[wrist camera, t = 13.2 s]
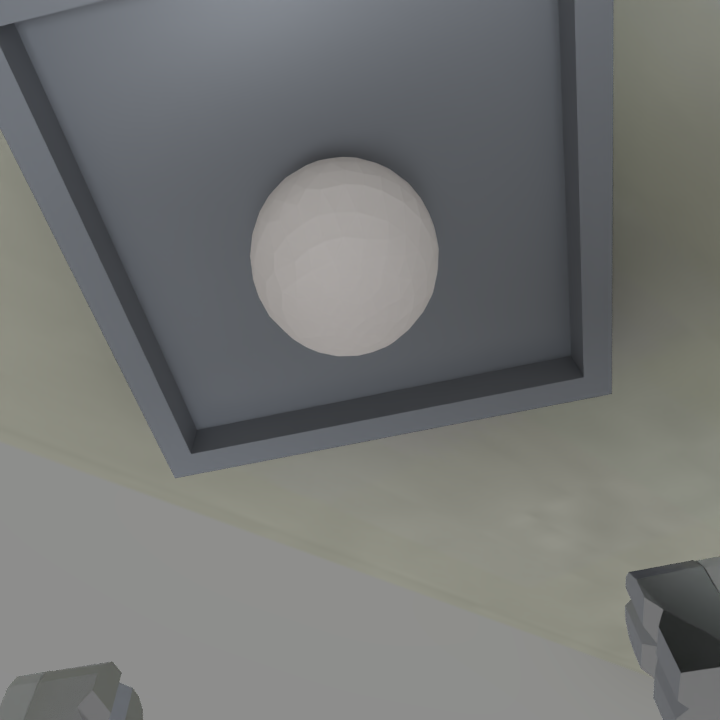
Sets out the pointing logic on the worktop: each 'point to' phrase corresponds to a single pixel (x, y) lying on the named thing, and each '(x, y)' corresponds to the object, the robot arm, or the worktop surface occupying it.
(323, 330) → the egg
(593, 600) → the worktop surface
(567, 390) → the tray
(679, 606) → the robot arm
